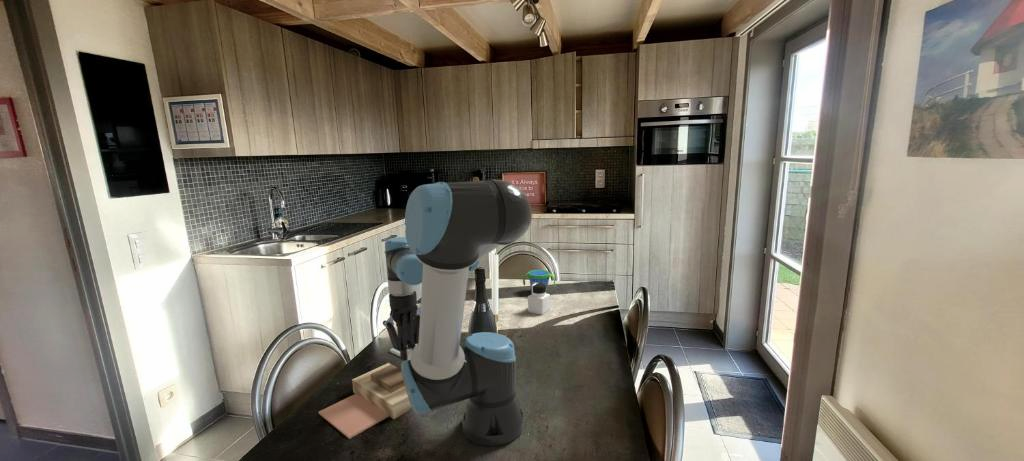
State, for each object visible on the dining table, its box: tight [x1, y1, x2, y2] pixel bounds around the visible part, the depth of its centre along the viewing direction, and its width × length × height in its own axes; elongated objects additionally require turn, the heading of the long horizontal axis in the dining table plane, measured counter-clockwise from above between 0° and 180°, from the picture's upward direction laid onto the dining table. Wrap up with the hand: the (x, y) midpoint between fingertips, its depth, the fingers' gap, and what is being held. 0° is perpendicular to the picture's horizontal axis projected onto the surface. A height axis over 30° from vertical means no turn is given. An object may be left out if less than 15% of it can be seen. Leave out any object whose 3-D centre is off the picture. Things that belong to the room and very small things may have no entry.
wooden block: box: [370, 364, 405, 393], centre depth 115 cm, size 10×7×2 cm
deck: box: [351, 362, 413, 420], centre depth 115 cm, size 20×12×4 cm, turn 50°
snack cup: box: [522, 269, 556, 294], centre depth 198 cm, size 16×10×10 cm
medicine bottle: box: [527, 283, 551, 316], centre depth 174 cm, size 7×7×12 cm
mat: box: [317, 393, 390, 440], centre depth 107 cm, size 16×11×1 cm
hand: (408, 368), depth 120 cm, fingers closed
